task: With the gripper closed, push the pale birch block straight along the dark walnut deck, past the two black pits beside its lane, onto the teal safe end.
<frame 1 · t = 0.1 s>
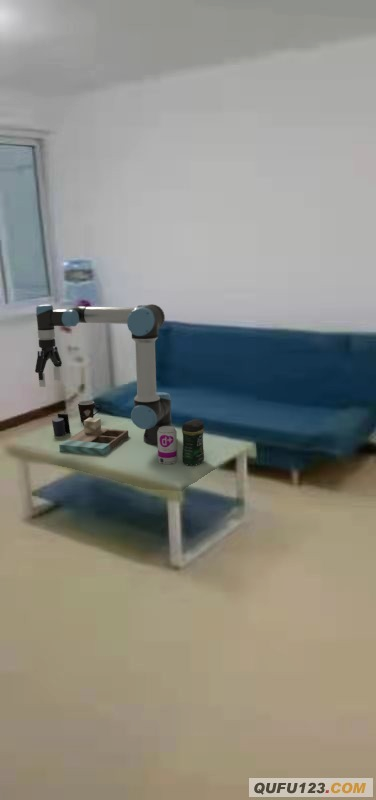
hand: (50, 383, 295), 28 cm above the table, tool pointing down, fingers open, 13 cm apart
supplement can: (167, 462, 270), on the table
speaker: (61, 434, 310), on the table
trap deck: (95, 443, 295), on the table
birch block: (92, 431, 303), point 3 cm above the table, touching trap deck
coffee mug: (89, 421, 332), on the table
coffee jar: (193, 462, 268), on the table
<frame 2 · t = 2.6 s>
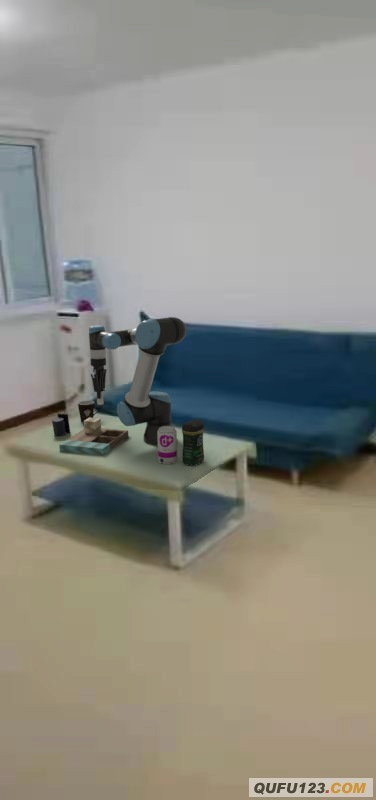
hand: (100, 404, 310), 14 cm above the table, tool pointing down, fingers closed
nothing on the table moved.
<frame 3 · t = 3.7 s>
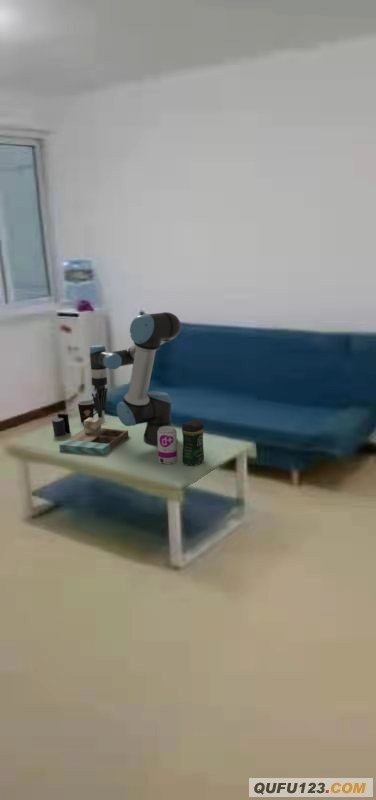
hand: (101, 423, 312), 4 cm above the table, tool pointing down, fingers closed
nothing on the table moved.
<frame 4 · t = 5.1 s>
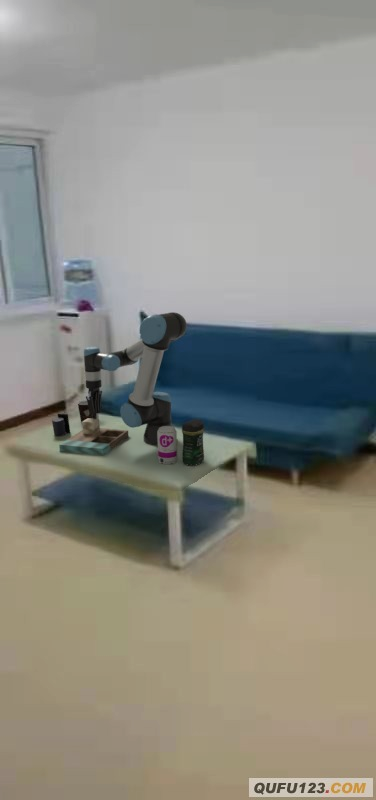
hand: (96, 426, 307), 5 cm above the table, tool pointing down, fingers closed
birch block: (91, 432, 302), point 3 cm above the table, touching gripper, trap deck
everything else where it was.
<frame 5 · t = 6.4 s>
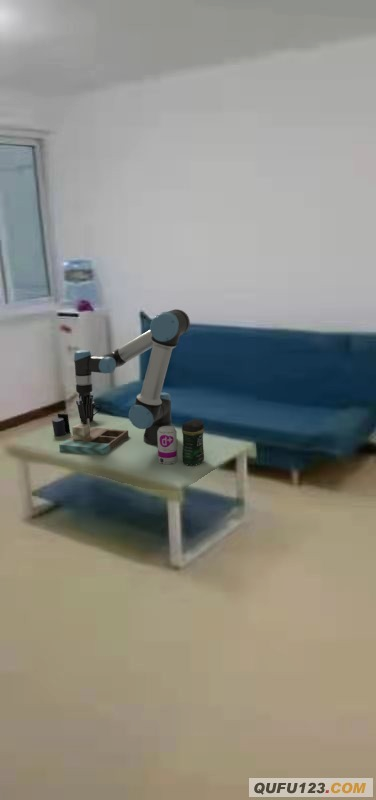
hand: (86, 431, 298), 5 cm above the table, tool pointing down, fingers closed
birch block: (81, 438, 294), point 3 cm above the table, touching gripper, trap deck
everything else where it was.
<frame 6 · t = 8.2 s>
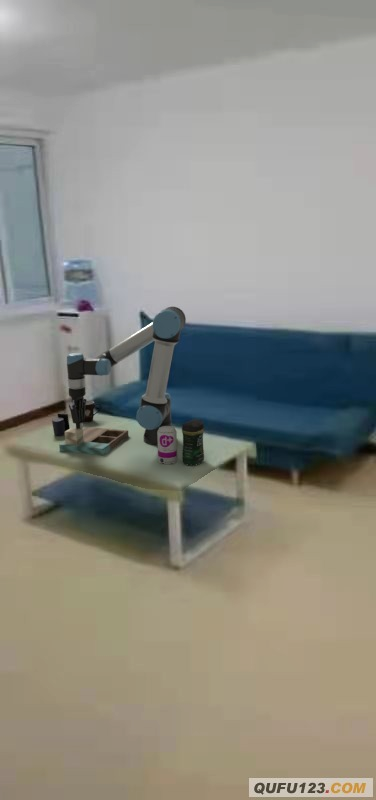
hand: (79, 436, 291), 5 cm above the table, tool pointing down, fingers closed
birch block: (74, 442, 287), point 3 cm above the table, touching gripper, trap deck
everything else where it was.
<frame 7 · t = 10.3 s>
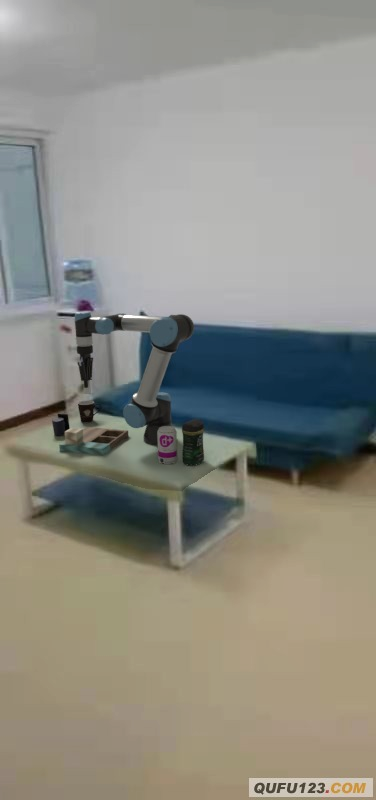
hand: (87, 393, 300), 22 cm above the table, tool pointing down, fingers closed
birch block: (74, 442, 287), point 3 cm above the table, touching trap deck
everything else where it was.
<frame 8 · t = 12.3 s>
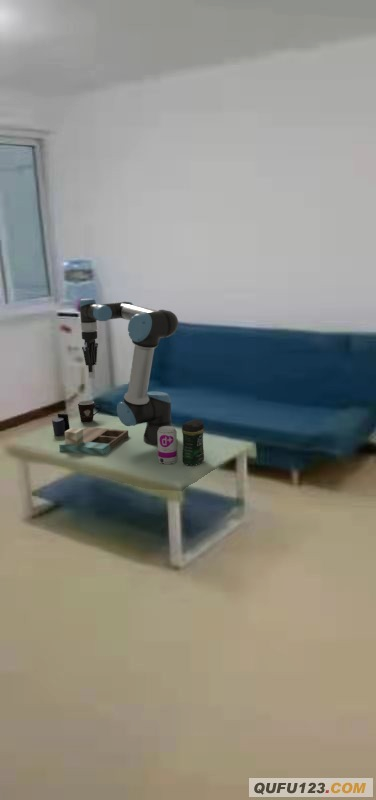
hand: (92, 378, 311), 26 cm above the table, tool pointing down, fingers closed
nothing on the table moved.
at the end: birch block inside the target area on the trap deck (0.6 cm from its centre), point 3.0 cm above the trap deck's base; birch block tilted 0° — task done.
